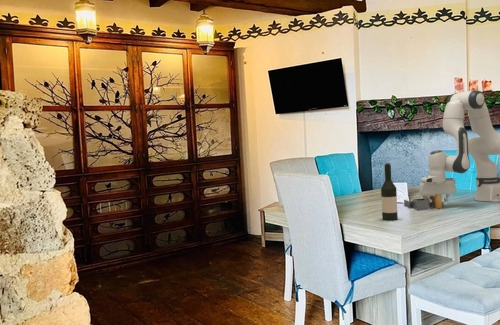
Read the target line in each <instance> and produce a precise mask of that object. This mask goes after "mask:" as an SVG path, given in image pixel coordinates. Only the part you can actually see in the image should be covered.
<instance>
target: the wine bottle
mask: <svg viewBox="0 0 500 325" xmlns="http://www.w3.org/2000/svg"><path fill="white" fill-rule="evenodd" d="M380 193H381V194H380V198H381V216H382V217H381V218H382V221H387V222H389V221H391V222H394V221H398V220H399V218H398V196H397V187H396V185H395V184H394V181H392V165H391V162H390V163H389V162H386V163H385V164H384V181H383V184H382V186H381V188H380Z"/></svg>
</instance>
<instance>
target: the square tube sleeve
mask: <svg viewBox="0 0 500 325" xmlns="http://www.w3.org/2000/svg"><path fill="white" fill-rule="evenodd" d="M412 201H413V208H412V209H413V210H416V211H429V210H430V207H429V200H427V199H423V198H413V199H412Z"/></svg>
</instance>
